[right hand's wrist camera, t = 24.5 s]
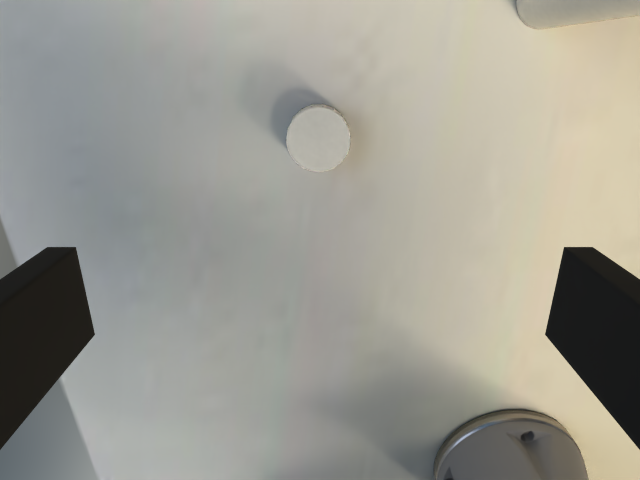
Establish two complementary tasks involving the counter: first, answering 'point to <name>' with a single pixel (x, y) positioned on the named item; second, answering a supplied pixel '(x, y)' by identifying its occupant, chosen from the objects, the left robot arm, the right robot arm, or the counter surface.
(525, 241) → the counter surface
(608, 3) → the white long cylinder
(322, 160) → the lid
